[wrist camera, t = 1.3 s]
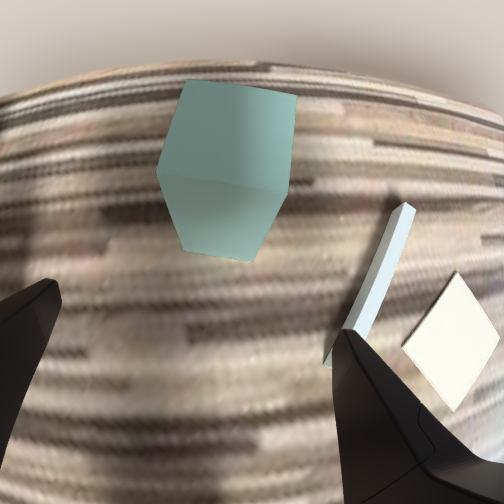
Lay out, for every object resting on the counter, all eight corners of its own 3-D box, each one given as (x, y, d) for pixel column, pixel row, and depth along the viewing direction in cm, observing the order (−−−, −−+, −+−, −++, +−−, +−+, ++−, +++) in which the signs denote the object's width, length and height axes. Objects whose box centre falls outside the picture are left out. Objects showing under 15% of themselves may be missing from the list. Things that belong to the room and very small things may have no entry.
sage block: (252, 262, 23) (287, 193, 12) (183, 251, 23) (155, 172, 12) (261, 198, 25) (296, 95, 13) (196, 188, 24) (186, 78, 13)
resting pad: (451, 411, 22) (453, 411, 22) (401, 347, 23) (403, 347, 23) (498, 337, 24) (500, 337, 24) (455, 272, 25) (457, 272, 25)
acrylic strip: (336, 371, 22) (347, 375, 20) (322, 365, 22) (333, 367, 20) (402, 218, 26) (416, 209, 24) (392, 211, 26) (404, 201, 24)
